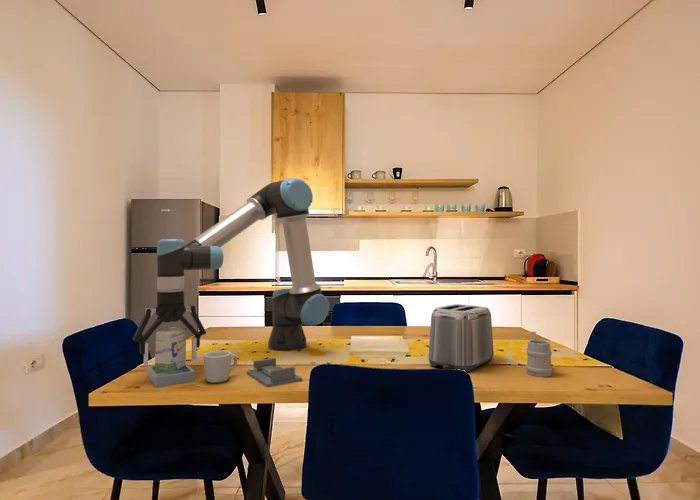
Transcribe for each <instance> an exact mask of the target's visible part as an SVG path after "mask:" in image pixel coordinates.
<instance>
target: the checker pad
mask: <svg viewBox="0 0 700 500" xmlns="http://www.w3.org/2000/svg"><path fill="white" fill-rule="evenodd" d="M277 367H278V366H276V367H275V366H273V365H271V366H265V367H261V371H262V372H263V373H265V374H267V375H269V376H270V377H271V370H276V369H279V368H277Z"/></svg>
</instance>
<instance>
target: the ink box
mask: <svg viewBox="0 0 700 500" xmlns="http://www.w3.org/2000/svg"><path fill="white" fill-rule="evenodd" d="M154 348H155V349H154V350H155V352H154V355H155V356H154V366H155V372H164V373H170V372H172V371H174V370H177V369H179V368H181V367H183V366H185V365H186V364H187V363H186V361H187V358H186V357H187V355H186V354H187V353H186V352H187V351H186V350H187V327H186V328H185V327H175V326H172V327H171V326H170V327H168V328H164V329H160V330H158V331H156V332H155V347H154Z"/></svg>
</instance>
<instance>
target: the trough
mask: <svg viewBox="0 0 700 500" xmlns="http://www.w3.org/2000/svg"><path fill="white" fill-rule="evenodd" d="M146 368H147V374H146V375H147V377H148V379H149V380H150V382H151V383H152V384H153V386H154V387H155V388H160V387H166V386H172V385H173V386H174V385H179V384H185V383H193V382H195V381H196V371H195V370H194V369H193V368H192V367H191V366H189V365H188V364H187V363H186V365H185V366H183V367H181V368H179V369H177V370H174V371H172V372H170V373H164V372H155V365H150V366H149V365H148V366H146Z"/></svg>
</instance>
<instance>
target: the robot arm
mask: <svg viewBox="0 0 700 500" xmlns="http://www.w3.org/2000/svg"><path fill="white" fill-rule="evenodd" d="M313 197H314V196H313V191H312V189H311V187H310V186H309V184H308V183H306V181H304V180H303V179H300V178H297V177H296V178H294V177H293V178H292V177H290V178H286V179H282V180H278V181H274V182H271V183H269V184H266V185H265V186H264V187H262V188H261V189H260V190H258V191H257V192H255V193H254V194H253V195H251V196H250V197H248V198H247V199H246V203H244V204H243V205H241V206H240V207H238V208H237V209H236V210H234V211H233V212H232V213H230V214H228V215H227V216H226V217H224V218H222V219H221V220H220V221H219V222H216V224H214V225H212V226H211V227H210V228H207V230H205V231H204V232H202V233H201V234H199V235H198V236H197V237H195V238H193V239H192V240H191V241H189V242H188V243H186V244H185V241H184V239H182V238H181V239H180V238H162V239H159V240H158V241H157V246H156V266H157V267H156V268H157V269H156V276H157V279H156V290H158V291H157V292H156V307H155V308H149V307H146V308H145V309H144V315H143V317H142V319H141V320H140V321H141V322H140V323H139V325H138V327H137V329H136V331H135V333H134V335H133V337H132V340H133V342H134V343H139V353H140V355H143V366H145V367H148V366H149V343H148V342H147V341H148V339H150V337H151V336H152V335H153V333H154V332H155V331H156V330H157V329H158V327H160V326H161V325H162V323H163V322H164V323H170V322H171V323H177V322H178V321H180V322H181V324H183V325H184V326H185V327H186V329H188V331H189V332H190V333H191V334H193V336H191V359H193V360H197V358H198V357H197V355H198V354H197V348H198V349H199V348H200V347H201V337H202V336H205V335H206V334H207V331H206V329H205V327H204V325H203V323H202V322H201V320H200V317H199V316H198V314H197V312H196V306H195V305H193V304H190V305H187V306H185V292H184V289H185V271H209V270H210V271H212V270H219V269H221V268H222V266H223V263H224V253H223V249H222V247H223V246H225V245H226V244H227V243H229V242H230V241H231V240H233V239H234V238H235V237H237V236H238V235H240V234H241V233H242V232H244V231H245V230H247V229H248V228H250V227H251V226H252V225H253V224H255V223H256V222H258V221H263V220H266V218H269V217H271V216H273V215H275V214H276V218H277V220H278V221H280V222H281V223H282V227H283V228H282V229H283V234H284V240H285V241H284V242H285V248H286V254H287V259H288V265H289V271H290V278H291V283H292V284H291V285H292V287H291V288H290V287H289V288H282V289H276V290H275V289H274V291H273V293H272V297H271V298H272V299H271V301H272V329H271V331H270V334H269V338H268V340H267V341H268V342H267V347H268V349H270V350H275V351H297V350H302V349H305V348H306V347H307V345H308V342H307V337H306V335H305V331H304V327H303V325H304V326H317V325H320V324H322V323H323V322H324V321H325V319H327V318H326V317H328V314H329V312H330V302H329V300H328V298H327V297H326V296H325V295H324V294H322V289H321V285H320V284H318V283H317V282H316V278H315V277H316V276H315V270H314V264H313V257H312V251H311V250H312V249H311V245H310V237H309V233H308V232H309V231H308V227H307V225H308V224H307V217H309V215H310V213H309V212H310V211H309V208H310V207H311V204H312V203H313ZM186 311H187V313H188V314H190V316H191V317H192V320H193V322H194V324H195V325H196V327H197V329H198V331H197V329H196V328H195V327H194V326H193V325H192V324H191V323H190V322H189V321H188V320H187V319H186V318H185V316H184V314H185V313H186ZM154 314H156V315H157V317H156V319H155V320H154V322H153V323H152V324H151V325H150V327H148V329H147V330H146V331H145V328H146V326H147V324H148V323H149V320H150V319H151V318H150V317H152V316H154ZM144 331H145V332H144ZM143 332H144V333H143Z"/></svg>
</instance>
